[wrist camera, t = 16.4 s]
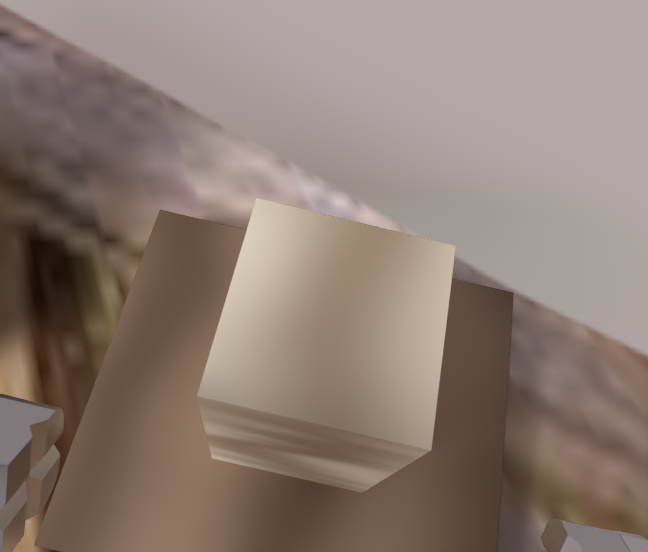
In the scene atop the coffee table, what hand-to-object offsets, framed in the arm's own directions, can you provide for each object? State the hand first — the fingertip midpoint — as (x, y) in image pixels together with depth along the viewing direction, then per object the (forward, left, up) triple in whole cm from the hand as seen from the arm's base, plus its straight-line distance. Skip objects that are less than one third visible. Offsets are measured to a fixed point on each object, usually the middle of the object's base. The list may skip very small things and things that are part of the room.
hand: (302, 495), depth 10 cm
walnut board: (0, +4, -12) cm, 13 cm away
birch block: (0, +4, -10) cm, 11 cm away
